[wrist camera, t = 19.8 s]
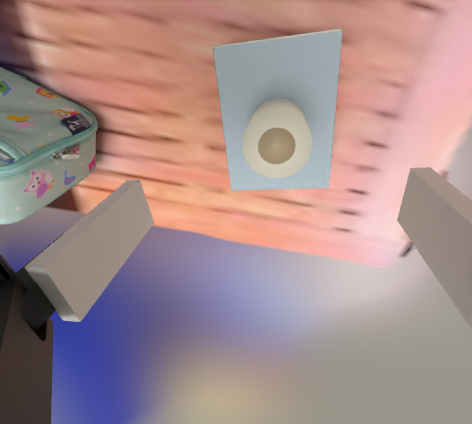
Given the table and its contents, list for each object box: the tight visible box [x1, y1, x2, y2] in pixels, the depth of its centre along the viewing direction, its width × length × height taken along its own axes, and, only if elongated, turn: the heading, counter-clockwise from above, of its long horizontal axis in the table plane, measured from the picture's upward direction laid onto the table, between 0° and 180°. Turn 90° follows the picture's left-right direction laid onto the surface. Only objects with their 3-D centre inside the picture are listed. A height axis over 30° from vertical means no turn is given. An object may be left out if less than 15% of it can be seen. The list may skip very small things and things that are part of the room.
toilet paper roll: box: [242, 97, 312, 178], centre depth 25 cm, size 6×6×7 cm
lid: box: [213, 31, 342, 191], centre depth 28 cm, size 16×12×1 cm
